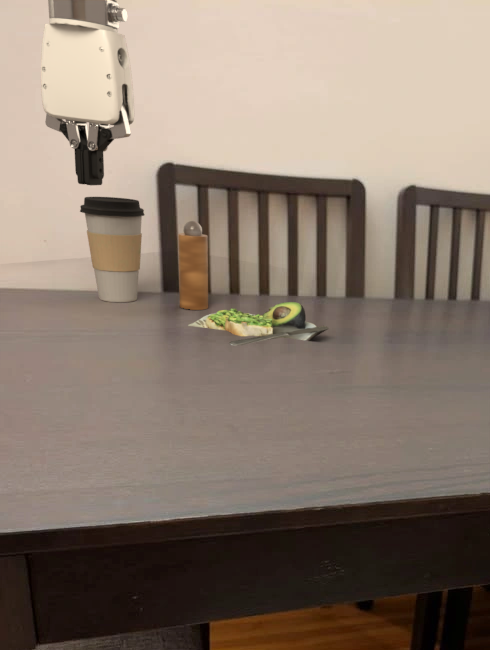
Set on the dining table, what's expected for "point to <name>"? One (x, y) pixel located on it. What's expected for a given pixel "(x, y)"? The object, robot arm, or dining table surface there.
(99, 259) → the coffee cup
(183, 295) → the pepper grinder
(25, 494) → the dining table surface
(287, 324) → the avocado toast
